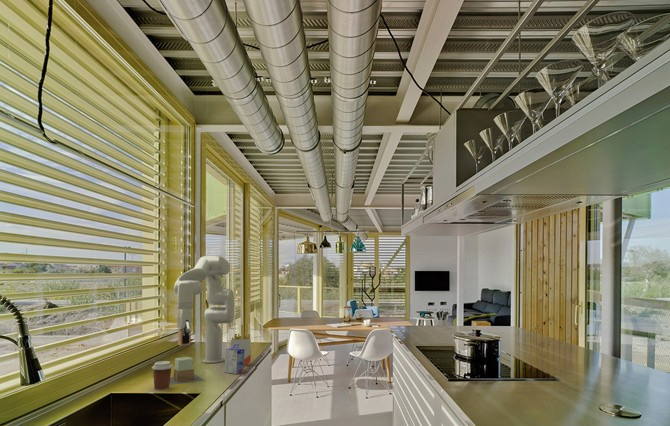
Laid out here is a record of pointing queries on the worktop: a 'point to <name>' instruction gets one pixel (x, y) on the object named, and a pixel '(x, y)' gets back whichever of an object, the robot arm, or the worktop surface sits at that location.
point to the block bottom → (183, 375)
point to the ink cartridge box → (234, 360)
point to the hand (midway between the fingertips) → (184, 342)
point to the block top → (183, 363)
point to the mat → (196, 378)
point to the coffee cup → (162, 375)
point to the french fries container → (243, 346)
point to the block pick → (180, 335)
